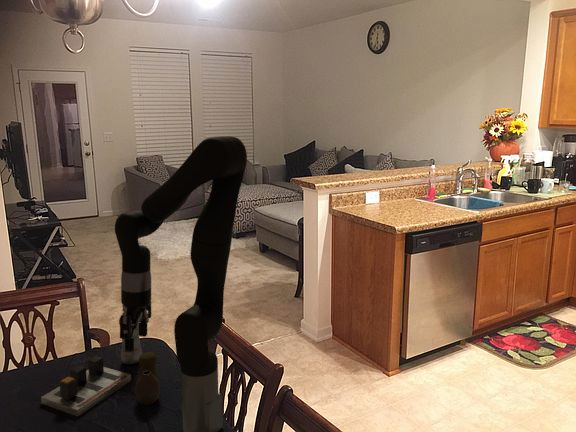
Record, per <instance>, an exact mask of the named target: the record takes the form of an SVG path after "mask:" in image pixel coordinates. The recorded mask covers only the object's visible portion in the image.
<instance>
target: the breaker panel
mask: <svg viewBox="0 0 576 432" xmlns="http://www.w3.org/2000/svg"><path fill="white" fill-rule="evenodd" d="M87 365H88V367H87V368H88V369H87V368H86V367H85V366H81V365H77V366H75V367H73V368H71V369H70V370H69V372H70V373H69V374H70V377H71V378H74V380H76V384H77V395H76V396H74V397H73V398H71V399H69V400H67V399H64V398H62V397H61V393H60V385H59V386H58V387H56V388H55V389H53V390H51V391H49V392H47V393H46V394H44V395H42V396H41V397H40V398H41V404H42V405H43V406H44V405H45V406H47V407H50V408H53V409H56V410H59V411H62V412H63V413H67V414H69V415H72V416H74V417H79V416H81V415H83V414H84V413H86V412H87V411H88V410H90V409H91V408H93V407H94V406H96V405H98V404H99V403H100V402H102V401H104V400H105V399H106V398H108V397H109V396H110V395H112V394H114V393H115V392H116V391H118V390H119V389H122V388H123V387H124V386H125V385H127V384H128V383H130V382H131V381H132V375H131V374H130V373H126V372H124V371H119V370H117V369H113V368H112V369H111V368H109V367H106V366H104V359H103V357H100V356H97V355H95V356H92V357H91V358H89V359H87Z"/></svg>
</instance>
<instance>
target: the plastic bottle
mask: <svg viewBox="0 0 576 432" xmlns="http://www.w3.org/2000/svg"><path fill="white" fill-rule="evenodd" d="M121 305H122V306H121V307H122V314H121V315H120V317H121V316H126V312H127V308H126V307H125V306H124V305H123V304H121ZM139 323H140V322H139ZM118 325H119V326H120V318H119V319H118ZM131 325H132V326H134V325H135V324H131ZM131 332H132V329H131ZM140 341H141V340H140V336H139V326H138V329H137V330H136V331H135V334H134V350H133V351H126V350H125V339H122V338H121V351H120V359H121V360H120V361H121V362H122V363H123V364H125V365H134V364H136V363H137V364H138V363H139V357H140V355H142V354H143V349H142V347H141V342H140Z"/></svg>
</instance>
